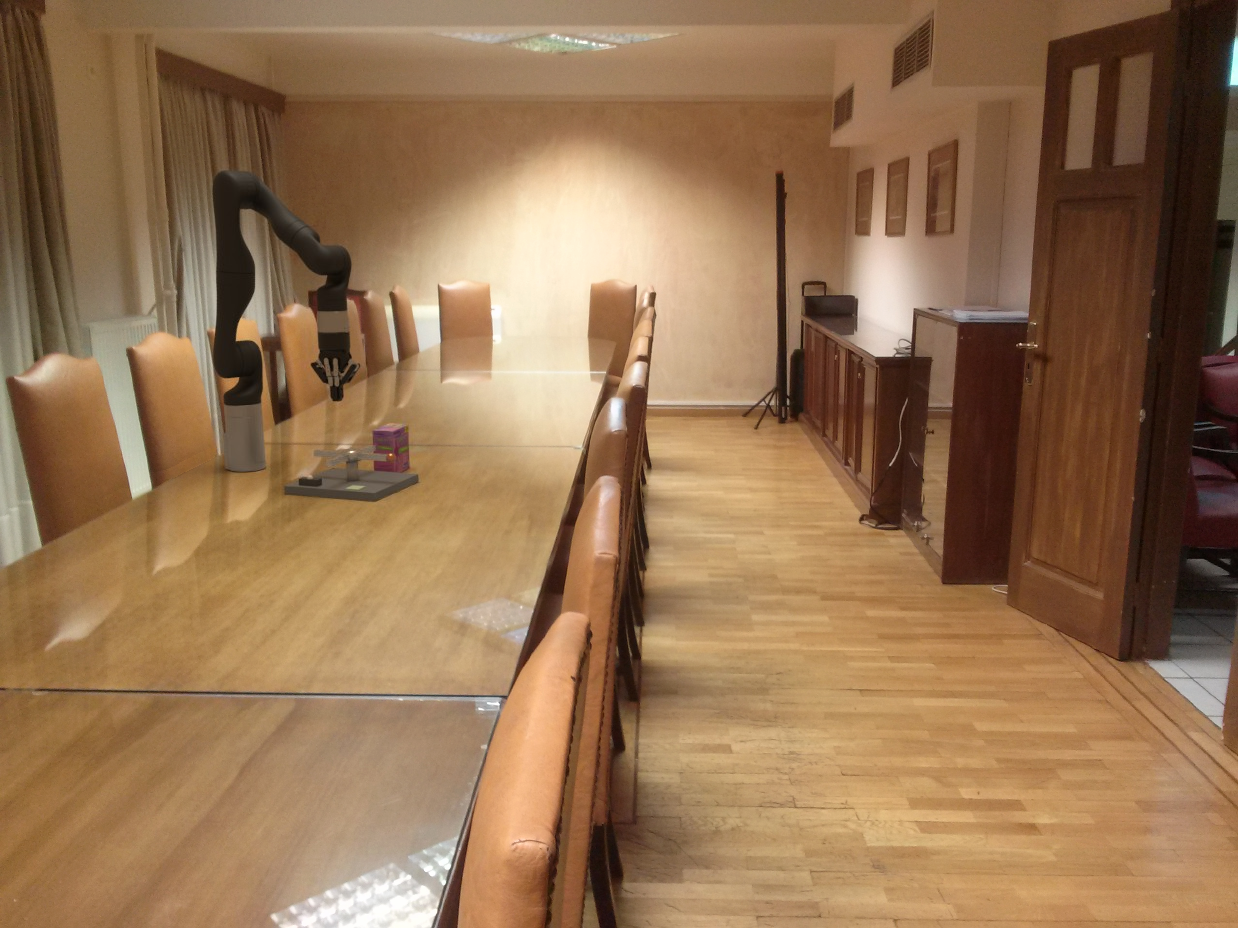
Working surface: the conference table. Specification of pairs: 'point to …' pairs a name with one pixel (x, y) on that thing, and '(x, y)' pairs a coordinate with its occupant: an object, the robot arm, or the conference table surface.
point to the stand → (351, 483)
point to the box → (392, 447)
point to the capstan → (354, 455)
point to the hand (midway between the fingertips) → (337, 401)
